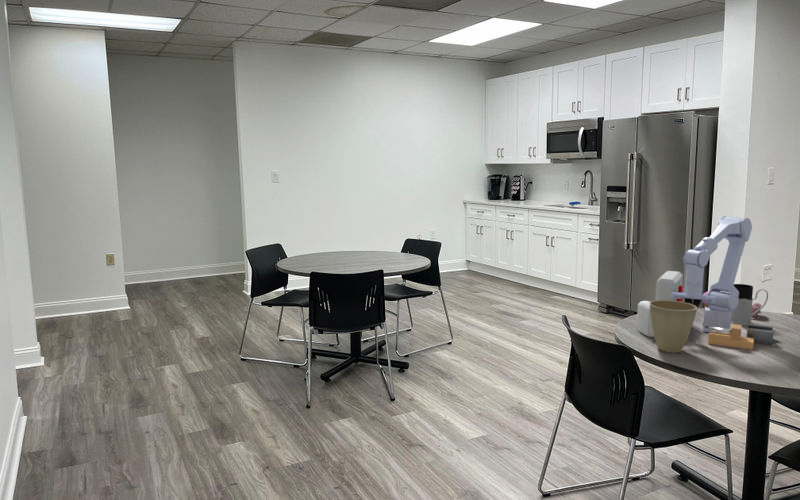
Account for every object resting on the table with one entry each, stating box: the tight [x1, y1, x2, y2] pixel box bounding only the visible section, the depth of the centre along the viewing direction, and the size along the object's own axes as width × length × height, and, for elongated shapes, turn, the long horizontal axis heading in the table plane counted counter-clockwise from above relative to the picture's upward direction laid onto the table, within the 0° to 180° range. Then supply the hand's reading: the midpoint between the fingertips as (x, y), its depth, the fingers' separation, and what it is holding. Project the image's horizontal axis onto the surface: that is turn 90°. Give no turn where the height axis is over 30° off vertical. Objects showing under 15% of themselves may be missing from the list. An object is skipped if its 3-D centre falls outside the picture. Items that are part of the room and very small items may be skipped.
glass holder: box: [731, 283, 769, 326], centre depth 242 cm, size 9×14×15 cm, turn 82°
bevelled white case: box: [654, 270, 684, 302], centre depth 240 cm, size 21×8×20 cm, turn 148°
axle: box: [708, 327, 732, 335], centre depth 215 cm, size 10×3×3 cm, turn 60°
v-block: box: [746, 323, 774, 346], centre depth 219 cm, size 8×10×4 cm
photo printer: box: [636, 300, 655, 338], centre depth 228 cm, size 10×4×12 cm, turn 3°
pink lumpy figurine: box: [751, 302, 763, 318], centre depth 252 cm, size 10×5×7 cm, turn 148°
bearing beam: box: [707, 323, 755, 350], centre depth 214 cm, size 14×6×7 cm, turn 60°
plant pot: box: [649, 300, 698, 354], centre depth 208 cm, size 15×15×16 cm
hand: (691, 319), depth 220 cm, fingers closed
